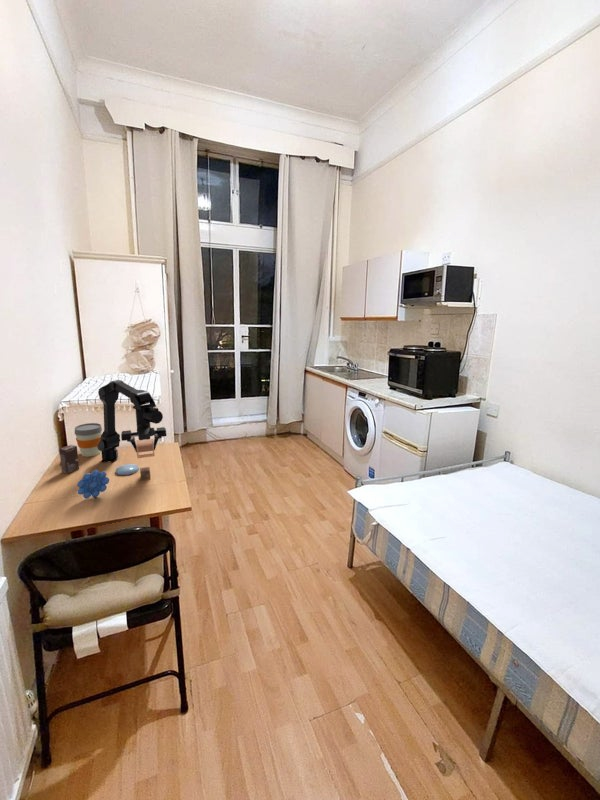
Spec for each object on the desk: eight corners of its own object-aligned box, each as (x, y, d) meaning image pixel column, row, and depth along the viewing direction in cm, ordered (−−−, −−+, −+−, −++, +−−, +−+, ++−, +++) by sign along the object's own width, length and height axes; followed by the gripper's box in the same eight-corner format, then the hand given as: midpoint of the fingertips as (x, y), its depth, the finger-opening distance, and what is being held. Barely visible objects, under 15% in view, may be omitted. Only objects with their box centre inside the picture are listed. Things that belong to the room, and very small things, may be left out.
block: (141, 480, 162) (140, 471, 161) (140, 476, 165) (140, 468, 164) (150, 479, 163) (149, 470, 162) (150, 475, 167) (149, 466, 166)
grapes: (110, 489, 153) (107, 463, 150) (111, 496, 148) (108, 470, 145) (79, 495, 147) (75, 469, 144) (78, 503, 142) (74, 476, 139)
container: (137, 458, 160) (136, 445, 158) (137, 452, 166) (136, 440, 165) (154, 456, 163) (153, 444, 161) (153, 450, 169) (153, 438, 168)
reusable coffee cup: (96, 458, 183) (92, 431, 180) (72, 457, 183) (68, 430, 180) (109, 449, 195) (106, 423, 192) (86, 448, 196) (83, 422, 192)
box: (68, 474, 166) (64, 450, 163) (61, 472, 167) (58, 448, 164) (80, 469, 171) (77, 445, 168) (74, 467, 173) (70, 444, 170)
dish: (113, 476, 165) (112, 473, 165) (119, 466, 174) (118, 464, 174) (136, 474, 167) (135, 472, 167) (140, 465, 176) (140, 463, 176)
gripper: (119, 426, 149) (122, 460, 153) (166, 422, 157) (168, 455, 161) (120, 418, 159) (123, 451, 163) (164, 415, 167) (166, 446, 171)
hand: (145, 451), depth 164 cm, fingers closed on container, 7 cm apart
